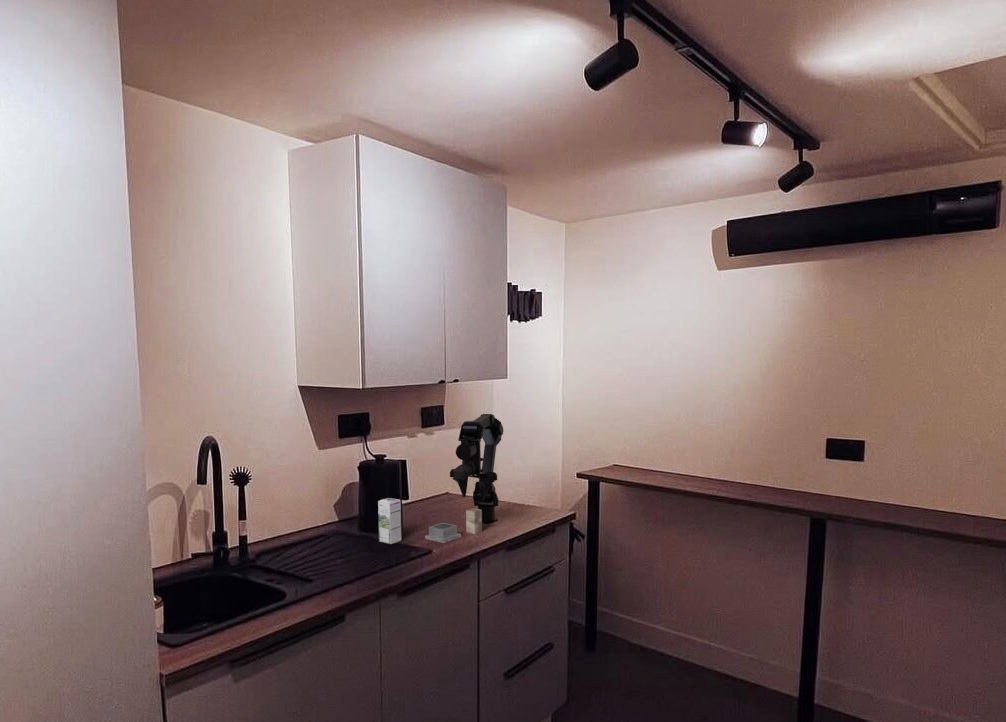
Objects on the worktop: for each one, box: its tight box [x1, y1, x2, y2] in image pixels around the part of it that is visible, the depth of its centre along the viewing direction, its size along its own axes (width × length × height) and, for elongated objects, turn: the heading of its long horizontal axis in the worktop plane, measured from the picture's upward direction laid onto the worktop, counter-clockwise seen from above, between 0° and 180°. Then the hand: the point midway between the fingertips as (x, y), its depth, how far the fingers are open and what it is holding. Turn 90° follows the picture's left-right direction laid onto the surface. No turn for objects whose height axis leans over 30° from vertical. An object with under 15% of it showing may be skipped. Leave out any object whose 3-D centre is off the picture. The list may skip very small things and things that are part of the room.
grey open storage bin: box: [424, 522, 462, 544], centre depth 215 cm, size 9×9×4 cm
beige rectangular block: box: [465, 507, 483, 535], centre depth 222 cm, size 4×4×8 cm
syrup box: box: [377, 497, 402, 545], centre depth 212 cm, size 6×6×14 cm
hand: (473, 498), depth 222 cm, fingers open, 9 cm apart
